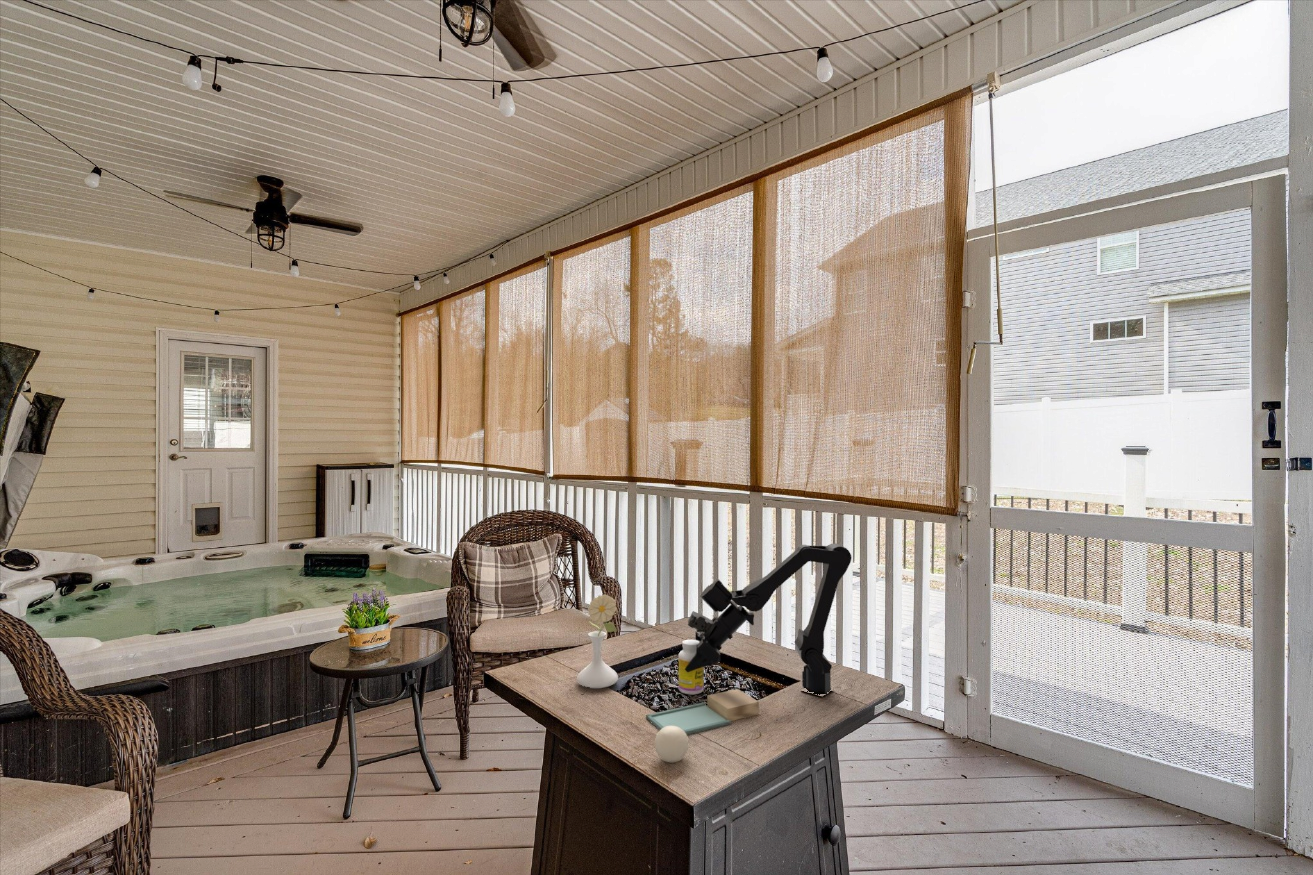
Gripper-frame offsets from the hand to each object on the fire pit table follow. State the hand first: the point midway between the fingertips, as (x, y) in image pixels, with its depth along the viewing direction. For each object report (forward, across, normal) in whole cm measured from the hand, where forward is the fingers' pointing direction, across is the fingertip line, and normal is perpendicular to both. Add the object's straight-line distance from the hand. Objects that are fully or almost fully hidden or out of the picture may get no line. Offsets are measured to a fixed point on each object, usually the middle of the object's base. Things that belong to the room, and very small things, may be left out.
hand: (685, 665), depth 164 cm
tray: (+4, +19, +5) cm, 20 cm away
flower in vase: (+22, -3, -12) cm, 25 cm away
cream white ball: (+7, +37, +3) cm, 38 cm away
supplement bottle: (+4, 0, +6) cm, 7 cm away
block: (-3, +13, +13) cm, 18 cm away
